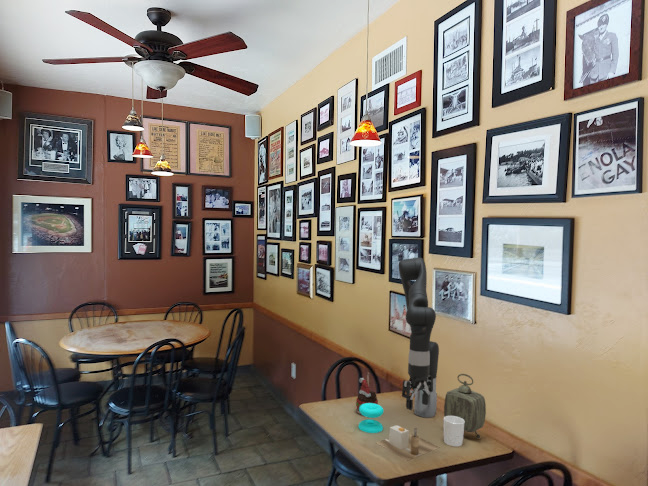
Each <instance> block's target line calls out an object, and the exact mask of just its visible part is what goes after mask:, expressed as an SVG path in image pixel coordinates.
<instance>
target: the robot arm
mask: <svg viewBox="0 0 648 486" xmlns="http://www.w3.org/2000/svg"><path fill="white" fill-rule="evenodd" d="M398 271H399V272H398V273H399V276H400V280H401V284H402V288H403V291H404V297H405V304H406V305H405V306H406V312H405V321H406V323H407V324H408V325H409V327H410V333H411V334H410V336H409V350H408V359H407V361H408V362H407V364H408V365H407V374H408V376H409V379H408V380H406V379H404V380H402V388H401V389H402V390H401V397H402V398H404V399H406V400H405V403H406V404H405V407H406V410H409V411H411V410H414V411H413V413H414V415H417V416H419V417H421V418H432V417H433V418H434V417H435V415H436V414H437V401H438V399H437V398H438V393H437V375H438V374H437V373H438V366H439V365H438V364H439V355H440V353H439V352H440V348H439V344H438V342H436V341H431V335H432V331H433V328H434V325H435V323H436V319H437V318H436V317H437V313H436V311H435V309H433V307H430V306H429V299H428V294H427V293H428V292H427V284H428V283H427V282H428V281H427V280H428V279H427V278H428V277H427V267H426V263H425V260H424V258H423V257H414V258H413V257H412V258H408V259H407V258H405V259H401V260H399V263H398ZM411 281H414V282H413V284H412V283H411ZM413 399H414V400H413ZM413 405H414V407H413Z"/></svg>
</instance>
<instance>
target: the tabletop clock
mask: <svg viewBox="0 0 648 486" xmlns="http://www.w3.org/2000/svg"><path fill="white" fill-rule="evenodd" d="M457 375H458V376H457V381H458V382H459V383H461V385H459V387H457V388H454V389H451V390H449V391H446V394H445V398H444V405H443V410H444V411H443V418H444V417H445V416H457V417H460V418H462V419H464V421H465V425H464V432H468V433H474V435H475V437H476V439H480V438H481V435H480V434H479V433H478V432H477V431H478V430H480V429H483V427H484V424H485V422H486V414H487V407H486V406H487V405H486V400H485V396H484V395H483V394H481V393H480V392H477V391H474V390H472V389H471V387H470V386H471V385H473V384H474V379H473V377H472V376H471V375H468V374H467V373H466V374H465V373H460V374H457ZM461 376H465V377H467V378H469V379H470V380H471V383H467V381H466V380H463V381H462V380H460V377H461Z"/></svg>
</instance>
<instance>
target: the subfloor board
mask: <svg viewBox="0 0 648 486" xmlns="http://www.w3.org/2000/svg"><path fill="white" fill-rule="evenodd" d="M412 435H414V433H413V434H412V433H411V432H409V441H408V447H407V448H404V449H399V448H397V447H395V446H393V445H391V444H389V437H388V438H385V439H382V440H380V441H377V442H375V444H377V445H379V446H381V448H382V447H383V448H384V449H386V450H388V451H389V452H391V453H393V454H395V455H397V456H399V457H400V458H401V459H402V458H403V459H404V460H406V461H410V460H413V459H414V458H418V457H420V456H422V455H425V454H427V453H430V452H432V451H435V450H437V449H440V446H438V445H435V444H433V443H432V442H430V441H427V440H425V439H423V438H421V437H419V454H418V455H412V454H411V436H412Z"/></svg>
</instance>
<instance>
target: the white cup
mask: <svg viewBox="0 0 648 486" xmlns="http://www.w3.org/2000/svg"><path fill="white" fill-rule="evenodd" d="M464 425H465V421H464V419H462V418H460V417H457V416H445V417H444V416H443V428H442V429H443V442H444V443H445V444H446V445H448V446H450V447H461V446H462V445H463V442H464V441H463V440H464V433H465V431H464Z"/></svg>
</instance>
